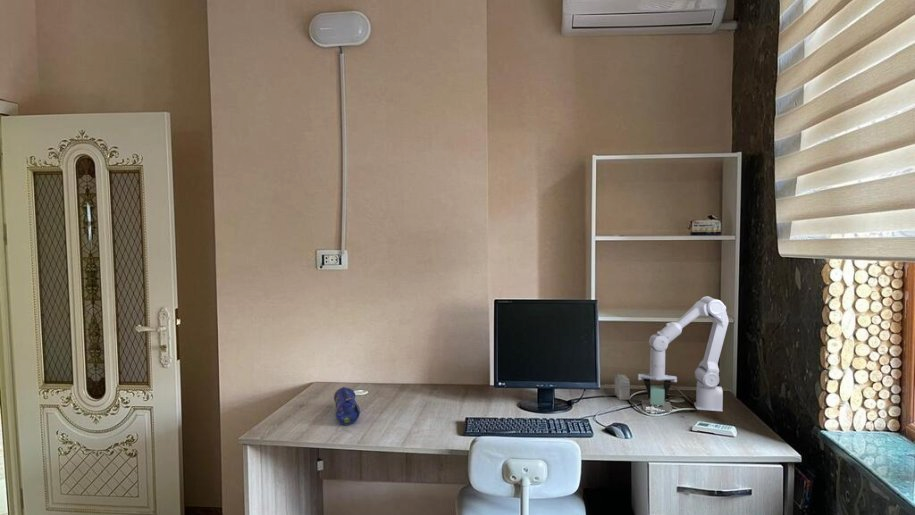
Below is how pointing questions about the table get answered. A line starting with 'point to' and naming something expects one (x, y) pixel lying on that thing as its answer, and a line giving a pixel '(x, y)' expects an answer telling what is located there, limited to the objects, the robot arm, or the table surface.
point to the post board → (666, 404)
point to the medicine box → (622, 387)
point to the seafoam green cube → (657, 395)
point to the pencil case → (346, 406)
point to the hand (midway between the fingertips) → (656, 398)
